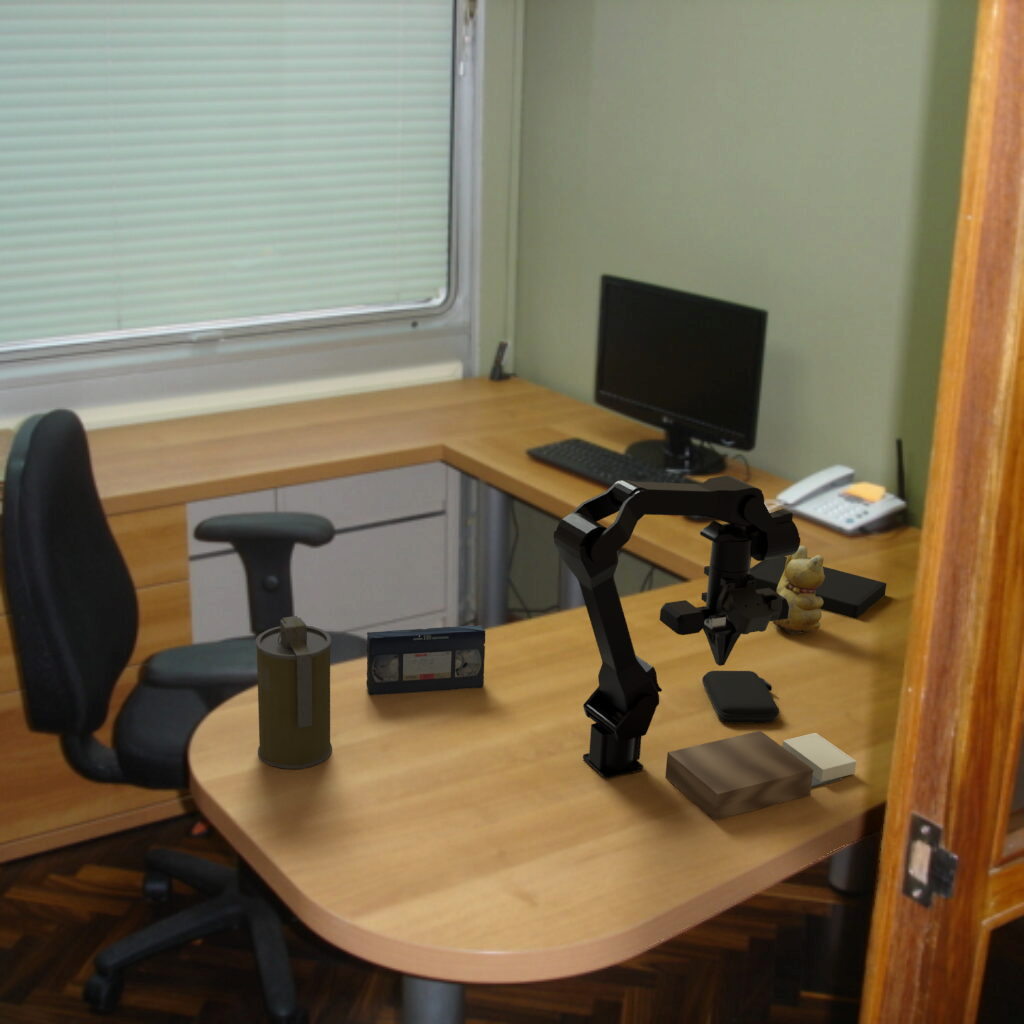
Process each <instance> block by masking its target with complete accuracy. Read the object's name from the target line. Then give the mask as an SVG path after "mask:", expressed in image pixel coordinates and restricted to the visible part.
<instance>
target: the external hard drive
mask: <svg viewBox="0 0 1024 1024" xmlns="http://www.w3.org/2000/svg"><path fill="white" fill-rule="evenodd" d="M786 560H787V556H784V557H779V558H774V559H769V560H764V561H759V562H758V563H757V564H755V565H753V566H752V567H750V574H751V575H753V576H754V577H755V589H756V590H758V589H765V588H770V589H772V590H773V591H775V592H776V591H777V587H778V584H779V582H780V579H781V577H782V575H783V572H784V570H785V564H786ZM822 567H823V571H824V576H825V580H824V582H823V583H822V584H821V585H820V586H819V587H818V588H816V589H815V593H816V596H819V597H821V598H822V599H823V602H824V603H823V606H822V607H820V610H821V611H825V612H829V613H834V614H838V615H841V616H843V617H844V616H845V617H848V618H852V619H855V620H857V619H859V617H861V616H862V615H864V613H866V612H867V611H868V610H869V609H870V608H872V607H873V606H874V605H875V604H876V603H877V602H879V601H881V599H882V598H884V597H885V596H886V590H887V582H883V581H880V580H876V579H871V578H868V577H864V576H861V575H857V574H854V573H850V572H847V571H842V570H838V569H834V568H831V567H827V566H823V565H822Z"/></svg>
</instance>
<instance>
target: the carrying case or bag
mask: <svg viewBox="0 0 1024 1024" xmlns="http://www.w3.org/2000/svg"><path fill="white" fill-rule="evenodd" d="M701 681H702V685H703V687H704V689H705V691H706V694H707V695H708V698H709V700H710V702H711V704H712V707H713V709H714V710H715V713H716V714H717V717H718V718H719V719H720V720H721V721H722V722H724V723H726V722H727V723H728V724H770V723H773V722H774V721H775V720H776V719H777V718H778V717H779V715H780V709H779V707H778V705H777V703H776V701H775V700H774V697H773V696H772V694H771V693H770V692H772V690H773V686H772V684H771V683H769V682H768V681H767V680H766V679H765V678H763V677H760V676H759V675H758V673H756V671H755V672H754V671H752V670H711V671H710V670H709V671H707V672H706V673H705V674H704V675H703V676H702V679H701Z"/></svg>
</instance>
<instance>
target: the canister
mask: <svg viewBox="0 0 1024 1024" xmlns="http://www.w3.org/2000/svg"><path fill="white" fill-rule="evenodd" d="M279 622H280V623H279V625H280V626H276V627H272V628H269V629H266V630H265V631H262V632H261V633H260V634H259V635H258V636H257V637H256V639H255V642H254V643H255V644H254V645H255V647H256V667H257V668H256V670H257V698H258V700H257V701H258V703H257V705H258V732H259V733H258V737H259V738H258V739H259V740H258V741H259V742H258V743H259V744H258V745H259V746H258V748H257V753H258V754H257V755H258V757H259V758H260V760H261V761H262V762H264V763H266V764H267V765H269V766H271V767H275V768H279V769H289V770H290V769H291V770H301V769H305V768H310V767H314V766H317V765H319V764H321V763H323V762H324V761H326V760H327V759H329V758H330V756H331V754H332V750H333V746H332V743H331V646H332V643H333V641H332V637H331V635H330V634H329V633H328V632H327V631H325V630H323V629H322V628H319V627H316V626H313V625H307V624H306V622H305V621H303V619H302V618H301V617H298V616H297V615H293V616H287V617H281V618H280V621H279Z"/></svg>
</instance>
